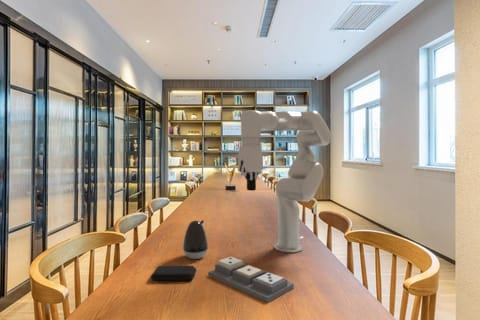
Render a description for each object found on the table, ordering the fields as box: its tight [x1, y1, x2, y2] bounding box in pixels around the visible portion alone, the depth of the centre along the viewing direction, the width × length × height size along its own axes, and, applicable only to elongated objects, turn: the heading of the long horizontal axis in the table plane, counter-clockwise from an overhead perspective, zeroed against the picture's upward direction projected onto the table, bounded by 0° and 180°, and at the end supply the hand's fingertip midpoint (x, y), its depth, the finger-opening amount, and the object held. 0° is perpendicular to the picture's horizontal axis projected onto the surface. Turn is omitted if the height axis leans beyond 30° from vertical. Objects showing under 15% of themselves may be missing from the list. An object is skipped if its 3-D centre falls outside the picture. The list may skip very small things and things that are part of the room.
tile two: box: [218, 256, 243, 269], centre depth 109 cm, size 6×6×2 cm
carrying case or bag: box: [150, 265, 197, 283], centre depth 107 cm, size 11×3×15 cm
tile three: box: [257, 272, 284, 286], centre depth 96 cm, size 6×6×2 cm
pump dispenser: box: [182, 220, 209, 260], centre depth 126 cm, size 10×10×15 cm
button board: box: [208, 262, 295, 303], centre depth 102 cm, size 13×27×4 cm, turn 45°
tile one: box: [236, 264, 262, 277], centre depth 102 cm, size 6×6×2 cm
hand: (251, 190), depth 118 cm, fingers closed
